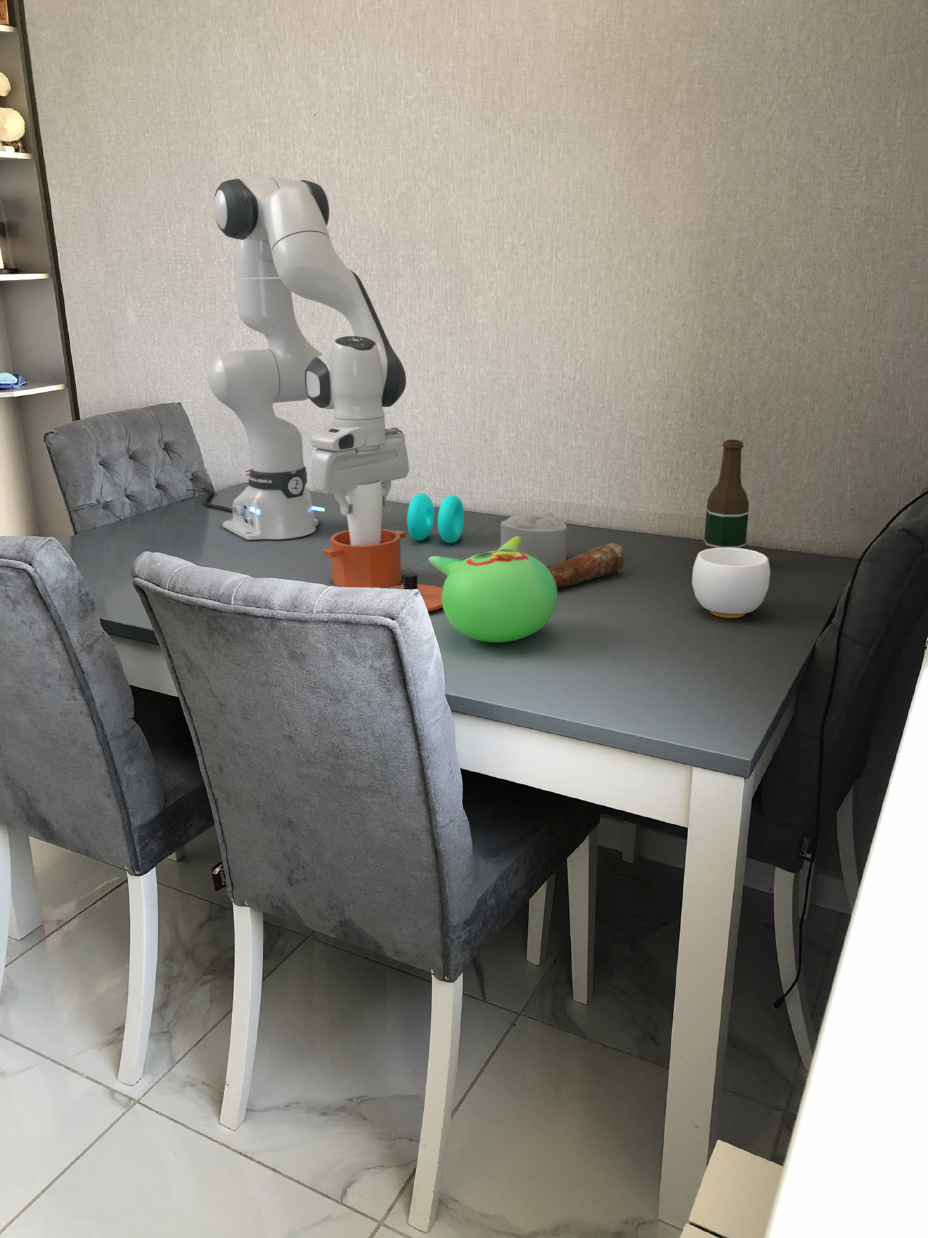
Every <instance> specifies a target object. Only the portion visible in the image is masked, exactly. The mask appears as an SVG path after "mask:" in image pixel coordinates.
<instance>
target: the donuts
mask: <svg viewBox="0 0 928 1238" xmlns="http://www.w3.org/2000/svg"><path fill="white" fill-rule="evenodd" d="M464 507H465V506H464V503H463V501H462V500H461V498H460V497H458V496H457V495H453V494H452V495H448V496H447V497H445V498H444V499H443V500H442V502H441V504H440V506H439V509H438V514H437V530H438V533H439V536H440V538H441V539H442V540H443V541H444V542H445V543H447V544H454V543H456V542H457V541H458V540H459V539H460V538H461V536H462V533H463V530H464V524H465V508H464ZM406 524H407V525H406V526H407V530H408V533H409V535H410V537H411V538H412V539H413V540H414V541H417V542H421V541H424V540H426V539H427V538H428V537H429V536H430V534H431V532H432V530H433V528H434V524H435V506H434V503H433V501H432V499H431V498H430V496H429V495H428V494H425V493H417V494H415V495H414V496H412V498H411V500H410V501H409V505H408V508H407V515H406Z"/></svg>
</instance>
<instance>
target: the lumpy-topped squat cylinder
mask: <svg viewBox="0 0 928 1238" xmlns="http://www.w3.org/2000/svg"><path fill="white" fill-rule="evenodd" d="M567 534H568V527H567V524H566V523H565V522H563V521H562V520H559V519H558V518H557V517H555V516H554V515H553V514H552V512H548V511H541V513H539V514H538V515H535V514H534V513H531V512H529V511H524V512H521V513H519V514H515V515H512V516H510V517H508V518H507V519H504V520H502V521H501V522H500V547H502V546H503V545H504V544H505V543H506V542H508V541H509V540H510V539H512V538H514V537H516V536H519V537H520V538H521V542H520V545H519V549H518V552H520V553H524V554H527V555H530V556H532V557H534V558H536V559H537V560H539V561H540V562H542V563H543V564H544V565H545V566H546V567H547V568H550V567H552V566H554V565H556V564H559V563H561V562H564V561H566V560H567V539H568V535H567Z"/></svg>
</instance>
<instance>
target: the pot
mask: <svg viewBox="0 0 928 1238" xmlns="http://www.w3.org/2000/svg"><path fill="white" fill-rule="evenodd" d="M405 538H407V533H406V531H403V530H397V529H396V530H390V529H387V528H381V544H375V545H351V543H350V535H349V529H347V530H343V531H338V532H337V533H334V534H333V535H331V537H330V538H329V545H330V546H329V547H328V548H324V549H322V556H324V557H328V558H330V562H331V578H332V584H333V586H334V585H338V586H344V587H380V588H387V587H392V586H397V585H401V583H402V553H401V551H402V549H401V540H402V539H405Z"/></svg>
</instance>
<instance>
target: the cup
mask: <svg viewBox="0 0 928 1238" xmlns="http://www.w3.org/2000/svg"><path fill="white" fill-rule="evenodd" d="M769 561H770V560H769V558H768V557H767V556H766V555H765V554H763V553H761V552H759V551H756V550H752V549H747V548H745V549H741V548H712V549H706V550H704V551H703V550H702V551H699V552H698V553H697V556H696V557H695V560H694V564H693V567H692V576H691V584H692V585H691V586H692V589H693V593H694V597H695V598H696V600H697V601H698V603H699V604H700V606H701V607H702V608H704V609H706V610H708V611H709V612H710V613H711V614H712V615H714V616H716V617H720V618H726V619H737V618H742V617H744V616H745V615H746V614H747V613H751V612H753V611H755V610H757V609H758V608H759V607H760V606H761V604H763V602H764V599H765V598H766V595H767V592H768V590H769V587H770V578H771V567H770V562H769Z"/></svg>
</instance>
